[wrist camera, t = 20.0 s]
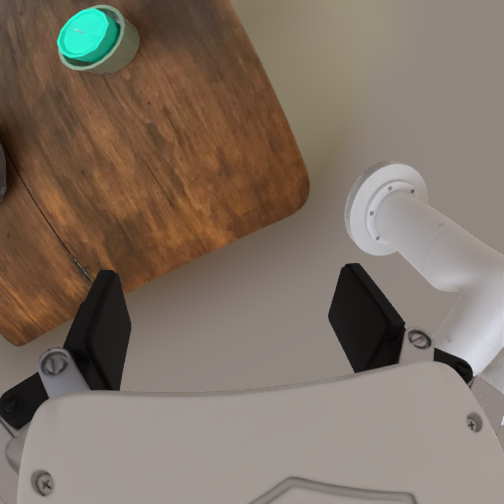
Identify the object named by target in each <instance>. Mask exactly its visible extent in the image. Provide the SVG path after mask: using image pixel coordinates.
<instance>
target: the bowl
mask: <svg viewBox="0 0 504 504" xmlns="http://www.w3.org/2000/svg"><path fill="white" fill-rule="evenodd" d="M6 187H7V186H6V159H5V155H4V152H3V149H2V146H1V144H0V203H1V201H2V199H3V196H4V193H5V191H6Z"/></svg>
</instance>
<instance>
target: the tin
mask: <svg viewBox="0 0 504 504" xmlns="http://www.w3.org/2000/svg"><path fill="white" fill-rule="evenodd" d="M93 8H95V9H97V10H99V11H101V12H104V13H105V14H106V15H108V16H109V17H110V18H111V19H113V20H114V21H115V22H116V23H118V24H119V25H120V26H121V30H120V36H119V38H118V40H117V43H116V45H115V46H114V47H113V49H112V50H111V51H110V53H109V54H107V55H106V56H105V57H104V58H103V59H102V60H100V61H98V62H96V63H94V64H92V63H89V62H85V61H81V60H77V59H72V58H69V57H67V56H66V55H64V54H62V53H61V52H60V49H59V47H58V51H59V55H60V59H61V60H62V62H63V63H64V65H65V66H67V67H69V68H71V69H73V70H79V71H85V72H90V73H96V74H102V75H105V74H112V73H115V72H117V71H119V70H121V69H123V68H124V67H125V66H127V65H128V64H129V63H130V62H131V61H132V60H133V58H134V57H135V55H136V53H137V51H138V48H139V44H140V36H139V33H138V30H137V29H136V27H135V26H134V25H133V24H132V23H131V22H130V21H129V20H128V19H127V18H126V17H125V16H124V15H123V14H122V13H121V12H120V11H118V10H117V9H116V8H114V7H111V6H109V5H97V6H93V7H89V8H87V9H93ZM87 9H85V10H87Z"/></svg>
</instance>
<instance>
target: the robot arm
mask: <svg viewBox="0 0 504 504" xmlns="http://www.w3.org/2000/svg"><path fill="white" fill-rule="evenodd" d="M365 227H366V230H367V232H368V234H369V235H370V237H371V238H372V239H373V240H374V241H376V242H377V243H379V244H383V245H390V244H391V245H392V246H393V247H394V248H395V249H396V250H397V251H398V252H399V253H400V254H401V255H402V256H403V257H404V258H405V259H406V260H407V261H408V262H410V264H411V265H412V266H413V267H414V268H415V269H416V270H417V271H419V273H420V274H421V275H422V276H423V277H424V278H425V279H426V280H427V281H428V282H429V283H430V284H431V285H433V287H435V288H436V289H438V290H441V291H445V292H458V291H461V294H460V297H459V298H458V300H457V302H456V304H455V305H454V307H453V308H452V310H451V311H450V313H449V314H448V315H447V317H446V318H445V320H444V321H443V323H442V324H441V325H440V327H439V328H438V330H437V331H436V332H435V334H434V335H433V337H432V336H431V334H430V333H429V332H427V331H426V330H424V329H422V328H419V327H410V328H408V329H407V330H406V329H405V327H404V325H405V322H404V321H403V319H402V318H401V317H400V315H399V314H398V313H397V311H396V310H395V309H394V307H393V306H392V304H391V303H390V302H389V301H388V299H387V298H386V297H385V295H384V294H383V293H382V291H381V290H380V289H379V288H378V286H377V285H376V284H375V283H374V281H373V280H372V279H371V277H370V276H369V275H368V274H367V272H366V271H365V270H364V269H363V267H362V266H361V265H360V264H359V263H352V264H351V263H350V264H346V265H345V267H342V269H341V271H340V275H339V279H338V282H337V286H336V290H335V293H334V297H333V300H332V304H331V307H330V310H329V314H328V318H329V321H330V324H331V325H332V328H333V330H334V332H335V333H336V336H337V338H338V340H339V342H340V344H341V346H342V348H343V350H344V352H345V354H346V356H347V358H348V360H349V362H350V364H351V366H352V368H353V370H354V372H355V373H354V374H349V375H345V376H339V377H335V378H329V379H324V380H317V381H311V382H305V383H298V384H292V385H283V386H275V387H266V388H257V389H245V390H234V391H233V390H232V391H214V392H131V391H120V385H121V379H122V373H123V367H124V362H125V357H126V351H127V347H128V342H129V337H130V333H131V321H130V317H129V314H128V310H127V306H126V303H125V299H124V295H123V291H122V287H121V282H120V278H119V275H118V274H117V273H115V272H114V271H113V270H100V271H99V272H98V274H97V277H96V279H95V281H94V283H93V285H92V287H91V289H90V291H89V293H88V295H87V298H86V300H85V301H84V302H82V304H81V305H80V307H79V310H78V312H77V314H76V316H75V319H74V321H73V323H72V326H71V328H70V331H69V333H68V336H67V338H66V341H65V343H64V346H63V348H60V347H55V348H51V349H48V350H47V351H46V352H44V353H43V354H42V355H41V356H40V359H39V361H38V365H37V367H38V372H37V373H35V374H34V375H32V376H31V377H29V378H27V379H26V380H24V381H22V382H21V383H19V384H18V385H16V386H14V387H13V388H11V389H9V390H8V391H6V392H5V393H4V394H3V395H2V396H1V398H0V498H1V499H2V501H3V502H4V503H5V504H504V452H503V449H502V447H501V445H500V442H499V440H498V438H497V433H498V431H499V428H500V425H504V355H503V356H502V357H501V359H500V360H499V361H498V362H497V363H495V364H492V363H490V362H491V361H492V360H493V359H494V357H495V356H496V355H497V354H498V352H499V351H500V350H501V349H502V348H503V346H504V255H503V254H501V253H499V252H497V251H496V250H494V249H492V248H491V247H489V246H487V245H486V244H484V243H483V242H481V241H480V240H478V239H477V238H476V237H474V236H472V235H471V234H470V233H469V232H467V231H466V230H464V229H463V228H462V227H460V226H459V225H457V224H456V223H455V222H453V221H452V220H450V219H449V218H447V217H446V216H444V215H443V214H441V213H440V212H438V211H437V210H435V209H434V208H432V207H431V206H429V205H428V204H426V203H424V202H423V201H421V200H420V197H419V194H418V192H417V190H416V189H415V188H414V187H413V186H412V185H411V184H409V183H408V182H405V181H403V180H392V181H389V182H387V183H385V184H383V185H382V186H381V187H379V188H378V189H377V190H376V191H375V193H374V194H373V195H372V197H371V198H370V200H369V202H368V205H367V207H366V211H365Z"/></svg>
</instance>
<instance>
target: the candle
mask: <svg viewBox="0 0 504 504" xmlns="http://www.w3.org/2000/svg"><path fill="white" fill-rule="evenodd" d="M120 30H121V26H120V25H119V24H118V23H116V22H115V21H114V20H113V19H111V18H110V17H109V16H108V15H106V14H105V13H104V12H101V11H99V10H97V9H95V8H93V9H87V10H82V11H80V12H79V13H77V14H76V15H75V16H73V17H72V18H70V19H69V21H68V22H67V23H66V24H65V26H64V27H63V28H62V29H61V31H60V34H59V37H58V40H57V44H58V47H59V49H60V52H61V53H62V54H64V55H66V56H67V57H69V58H72V59H77V60H81V61H85V62H89V63H92V64H94V63H96V62H98V61H100V60H102V59H103V58H104V57H105V56H106V55H107V54H109V53H110V51H111V50H112V49H113V47H114V46H115V45H116V43H117V40H118V38H119V36H120Z"/></svg>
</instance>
